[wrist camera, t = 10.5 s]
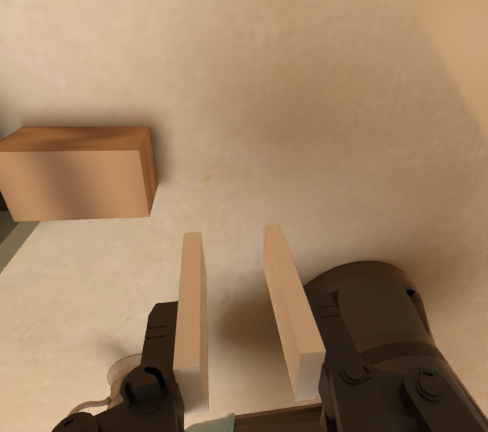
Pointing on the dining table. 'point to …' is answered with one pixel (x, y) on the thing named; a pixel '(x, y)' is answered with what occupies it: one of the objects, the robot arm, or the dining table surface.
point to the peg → (78, 173)
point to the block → (12, 236)
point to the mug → (114, 383)
